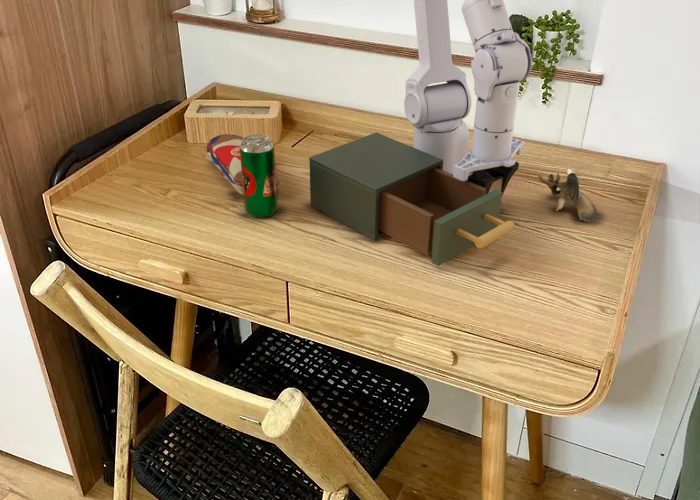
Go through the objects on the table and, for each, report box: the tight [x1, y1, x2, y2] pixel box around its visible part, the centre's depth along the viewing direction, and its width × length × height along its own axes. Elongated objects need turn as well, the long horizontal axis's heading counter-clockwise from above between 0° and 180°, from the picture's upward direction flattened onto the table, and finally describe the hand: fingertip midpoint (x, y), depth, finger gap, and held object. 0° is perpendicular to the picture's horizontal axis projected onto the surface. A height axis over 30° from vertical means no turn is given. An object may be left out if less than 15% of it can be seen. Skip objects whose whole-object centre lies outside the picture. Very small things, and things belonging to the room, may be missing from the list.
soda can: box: [240, 133, 278, 219], centre depth 108 cm, size 5×5×12 cm
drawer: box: [378, 167, 516, 267], centre depth 101 cm, size 18×13×7 cm
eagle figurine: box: [537, 168, 598, 223], centre depth 111 cm, size 8×7×9 cm
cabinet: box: [308, 132, 443, 241], centre depth 110 cm, size 14×14×8 cm
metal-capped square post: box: [485, 168, 504, 193], centre depth 110 cm, size 4×4×6 cm
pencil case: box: [205, 133, 281, 197], centre depth 120 cm, size 11×20×5 cm, turn 14°
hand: (484, 207), depth 111 cm, fingers closed on metal-capped square post, 3 cm apart
